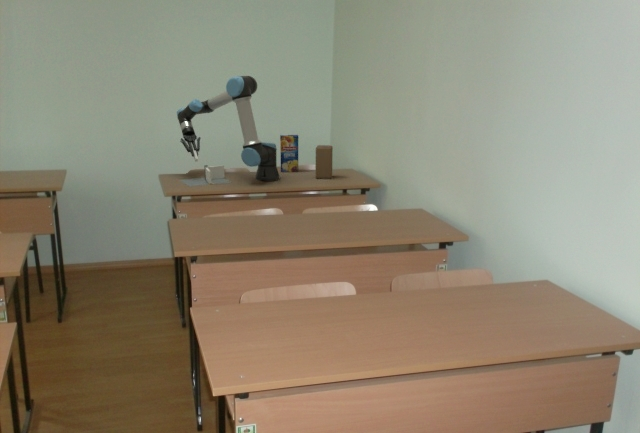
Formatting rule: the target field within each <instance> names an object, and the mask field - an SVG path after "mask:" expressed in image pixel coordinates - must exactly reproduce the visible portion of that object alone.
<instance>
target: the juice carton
mask: <svg viewBox="0 0 640 433" xmlns="http://www.w3.org/2000/svg"><path fill="white" fill-rule="evenodd" d="M279 139H280V142H279V143H280V173H299V135H298V134H280V136H279Z"/></svg>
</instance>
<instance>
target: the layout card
mask: <svg viewBox="0 0 640 433" xmlns="http://www.w3.org/2000/svg"><path fill="white" fill-rule="evenodd" d="M179 181H180V182H181V183H182V184H184V185H186V186H188V187H197V186H209V185H220V184H230V183H231V184H232V183H233V181H231V180H228V179H227V178H225V177H224V178H222V179H211V184H209V183H208V182H207V180H205V177H197V178H196V177H194V178H185V179H184V178H183V179H179Z"/></svg>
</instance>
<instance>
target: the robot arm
mask: <svg viewBox="0 0 640 433" xmlns="http://www.w3.org/2000/svg"><path fill="white" fill-rule="evenodd" d="M257 90H258V83H257V80H256V79H255V78H254V77H252V76H251V75H237V76H232V77H230V78H229V79H228V81H227V82H226V85H225V91H223V92H221V93H219V94H216V95H215V96H212V97H211V98H208V99H207V100H205V101H200V100H199V99H197V98H195V99H194V98H193V99H192V100H191V101H190V102H189V103H188V104H187V106H186V107H182V108H180V109H177V112H176V117H177V120H178V123H179V128H180V130H181V134H182V138H180V141H179V142H180V143H182V146H183V147H184V148H185V150H186V152H187V153H190V154H191V157H193V159H194V162H198V161H199V152H200V149H201V145H200V143H201V142H200V141H201V137H200V136H197V135H196V132H195V130H194V126H193V123H192V119H193V118H194V117H196V115H201V114H210V113H213V112H215V110H217V109H219V108H221V107H223V106H226V105H228V104H229V103H232V102H234V103H235V106H236V110H237V116H238V118H239V123H240V128H241V132H242V137H243V142H244V143H243V144H242V151H241V154H240V156H241V161H242V163H243V164H245V165H246V166H247V167H257V170H256V172H255V180H257V181H260V182H274V181H278V180H280V173H279V170H278V167H277V150H278V149H277V145H276V143H274V142H262V141H261V140H260V139H259V136H258V132H257V128H256V123H255V118H254V113H253V108H252V104H251V99H252V95H253V94H255V93H256V92H257Z"/></svg>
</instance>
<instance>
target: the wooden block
mask: <svg viewBox="0 0 640 433" xmlns="http://www.w3.org/2000/svg"><path fill="white" fill-rule="evenodd" d="M332 176H333V145H329V144H328V145H325V144H323V145H321V144H319V145H316V147H315V178H316V179H325V180H326V179H327V180H328V179H329V180H330V179H331V178H332Z"/></svg>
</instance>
